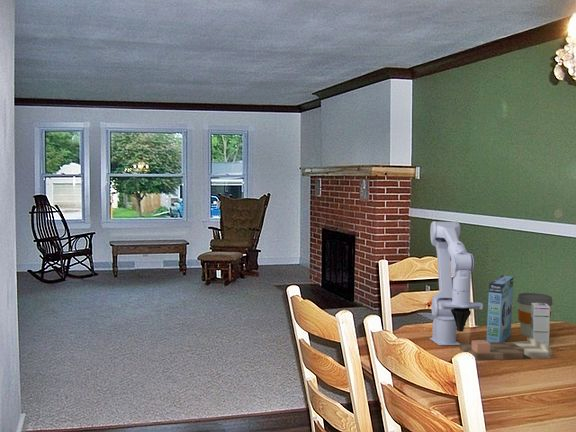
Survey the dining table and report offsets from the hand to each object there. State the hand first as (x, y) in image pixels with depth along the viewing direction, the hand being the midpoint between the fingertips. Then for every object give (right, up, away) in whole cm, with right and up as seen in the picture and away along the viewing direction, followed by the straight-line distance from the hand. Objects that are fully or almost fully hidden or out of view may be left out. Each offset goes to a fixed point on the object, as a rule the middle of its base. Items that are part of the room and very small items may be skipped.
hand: (460, 330), depth 211 cm
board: (+16, -9, +6) cm, 19 cm away
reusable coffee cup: (+37, -8, +33) cm, 50 cm away
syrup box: (+34, -8, +20) cm, 40 cm away
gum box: (+20, -8, +23) cm, 32 cm away
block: (+7, -7, +1) cm, 10 cm away
